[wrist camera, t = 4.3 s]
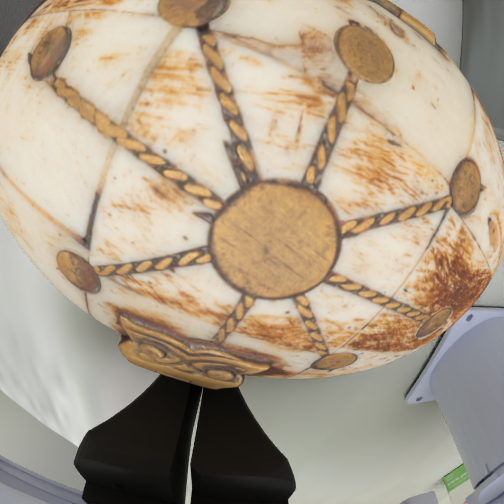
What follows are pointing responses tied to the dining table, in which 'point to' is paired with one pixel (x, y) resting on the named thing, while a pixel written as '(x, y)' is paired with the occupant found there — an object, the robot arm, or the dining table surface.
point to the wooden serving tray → (485, 56)
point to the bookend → (13, 18)
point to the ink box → (458, 485)
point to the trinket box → (250, 180)
